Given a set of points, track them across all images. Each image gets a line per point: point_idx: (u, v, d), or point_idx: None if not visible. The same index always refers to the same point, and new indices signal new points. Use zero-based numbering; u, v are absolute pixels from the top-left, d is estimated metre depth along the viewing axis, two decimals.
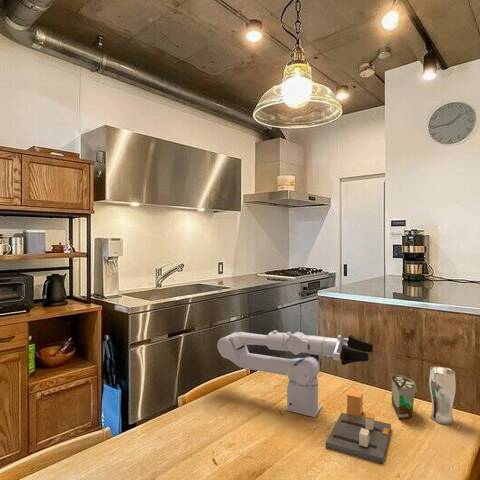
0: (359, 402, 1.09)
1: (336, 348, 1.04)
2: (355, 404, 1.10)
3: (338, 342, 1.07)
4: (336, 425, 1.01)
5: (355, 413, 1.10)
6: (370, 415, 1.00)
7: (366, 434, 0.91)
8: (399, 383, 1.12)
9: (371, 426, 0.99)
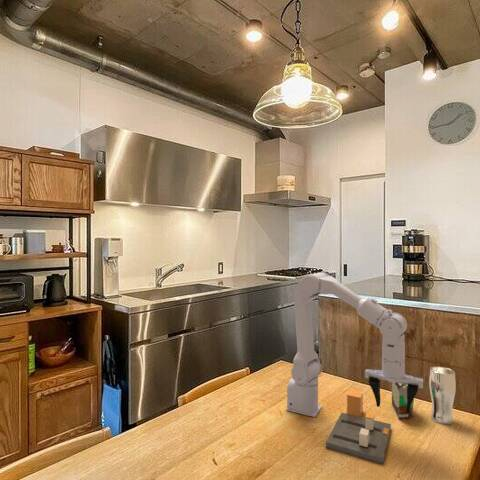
0: (359, 402, 1.09)
1: (374, 375, 0.98)
2: (355, 404, 1.10)
3: (384, 378, 0.96)
4: (336, 425, 1.01)
5: (355, 413, 1.10)
6: (370, 415, 1.00)
7: (366, 434, 0.91)
8: (399, 383, 1.12)
9: (371, 426, 0.99)
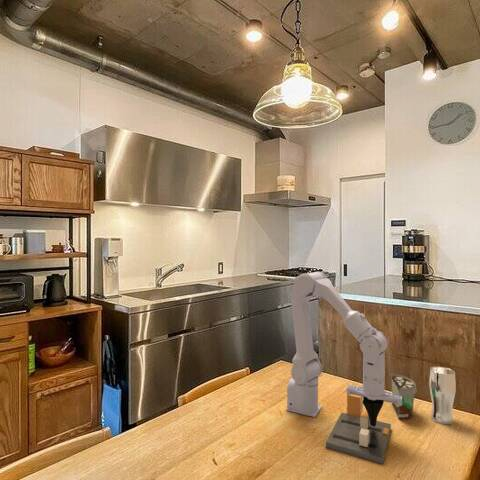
0: (359, 402, 1.09)
1: (355, 392, 1.00)
2: (355, 404, 1.10)
3: (364, 395, 0.98)
4: (336, 425, 1.01)
5: (355, 413, 1.10)
6: (365, 414, 1.01)
7: (366, 434, 0.91)
8: (399, 383, 1.12)
9: (366, 425, 0.99)
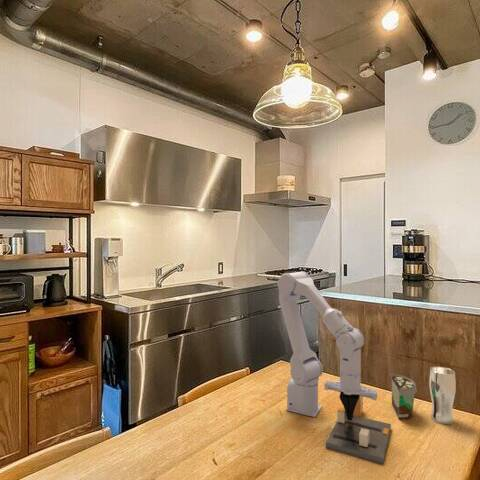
0: (359, 402, 1.09)
1: (332, 387, 1.04)
2: None
3: (341, 390, 1.01)
4: (336, 425, 1.01)
5: (355, 413, 1.10)
6: (342, 409, 1.04)
7: (366, 434, 0.91)
8: (399, 383, 1.12)
9: (343, 419, 1.02)
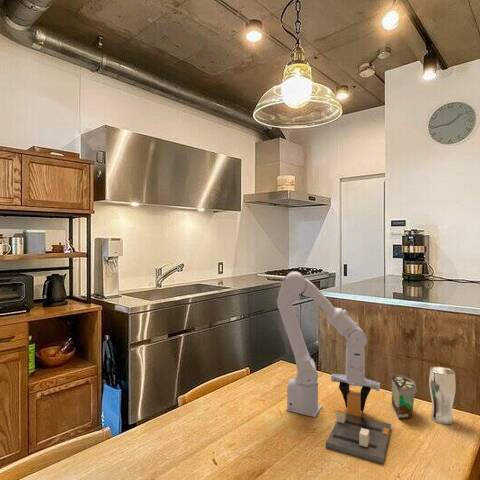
0: (359, 402, 1.09)
1: (339, 379, 1.13)
2: (355, 403, 1.10)
3: (346, 381, 1.11)
4: (336, 425, 1.01)
5: (355, 413, 1.10)
6: (342, 409, 1.04)
7: (366, 434, 0.91)
8: (399, 383, 1.12)
9: (342, 419, 1.02)
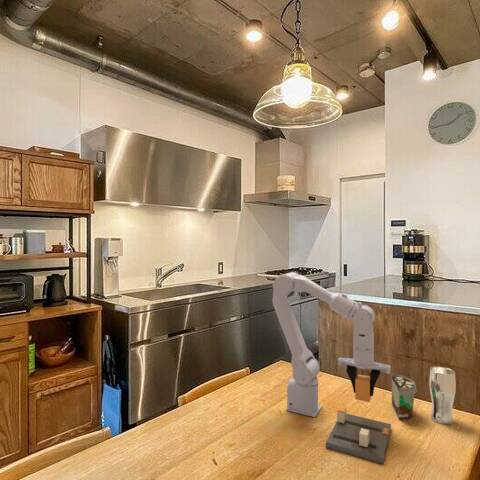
0: (368, 386, 1.03)
1: (346, 362, 1.06)
2: (364, 388, 1.03)
3: (354, 365, 1.04)
4: (336, 425, 1.01)
5: (364, 398, 1.03)
6: (342, 409, 1.04)
7: (366, 434, 0.91)
8: (399, 383, 1.12)
9: (342, 419, 1.02)
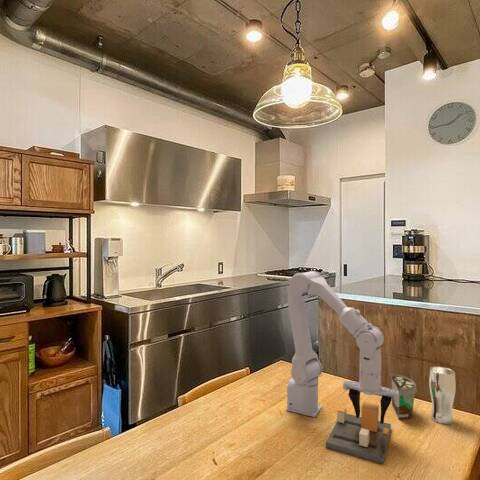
0: (375, 416, 0.98)
1: (352, 387, 1.01)
2: (371, 417, 0.98)
3: (361, 390, 0.99)
4: (336, 425, 1.01)
5: (370, 428, 0.98)
6: (342, 409, 1.04)
7: (366, 434, 0.91)
8: (399, 383, 1.11)
9: (342, 419, 1.02)
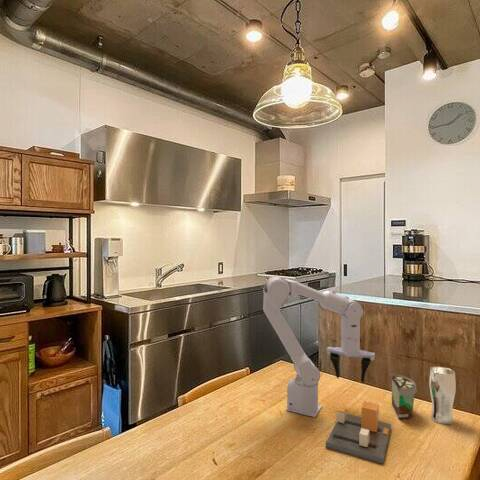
0: (375, 416, 0.98)
1: (335, 351, 1.15)
2: (371, 417, 0.98)
3: (342, 353, 1.13)
4: (336, 425, 1.01)
5: (370, 428, 0.98)
6: (342, 409, 1.04)
7: (366, 434, 0.91)
8: (399, 383, 1.12)
9: (342, 419, 1.02)
